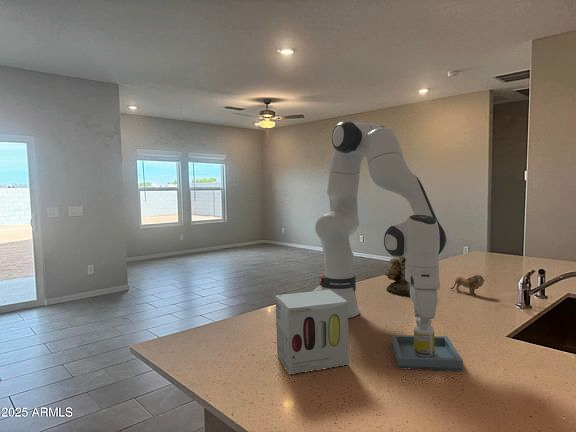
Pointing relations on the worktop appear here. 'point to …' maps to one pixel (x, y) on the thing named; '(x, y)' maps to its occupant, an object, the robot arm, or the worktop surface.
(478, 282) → the lion figurine
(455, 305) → the worktop surface
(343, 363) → the supplement box
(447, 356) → the tray
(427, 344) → the supplement bottle
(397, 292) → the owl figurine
